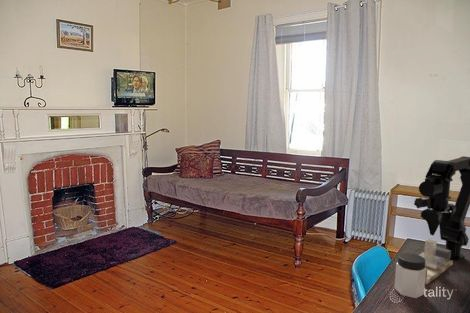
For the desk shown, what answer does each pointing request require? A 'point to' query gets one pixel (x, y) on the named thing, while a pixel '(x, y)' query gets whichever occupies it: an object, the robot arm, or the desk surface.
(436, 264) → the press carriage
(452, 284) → the desk surface
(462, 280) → the desk surface
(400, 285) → the jar
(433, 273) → the base
